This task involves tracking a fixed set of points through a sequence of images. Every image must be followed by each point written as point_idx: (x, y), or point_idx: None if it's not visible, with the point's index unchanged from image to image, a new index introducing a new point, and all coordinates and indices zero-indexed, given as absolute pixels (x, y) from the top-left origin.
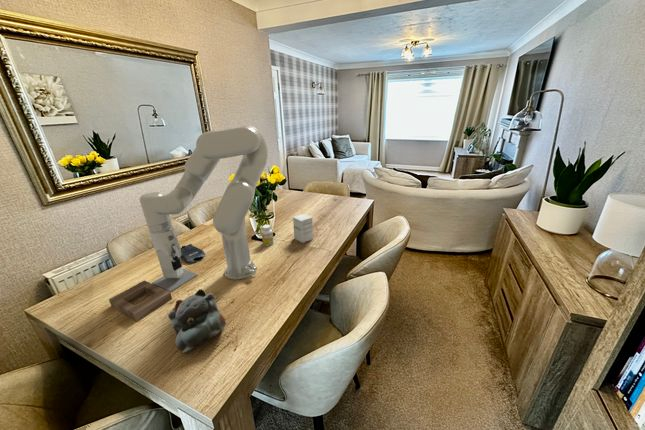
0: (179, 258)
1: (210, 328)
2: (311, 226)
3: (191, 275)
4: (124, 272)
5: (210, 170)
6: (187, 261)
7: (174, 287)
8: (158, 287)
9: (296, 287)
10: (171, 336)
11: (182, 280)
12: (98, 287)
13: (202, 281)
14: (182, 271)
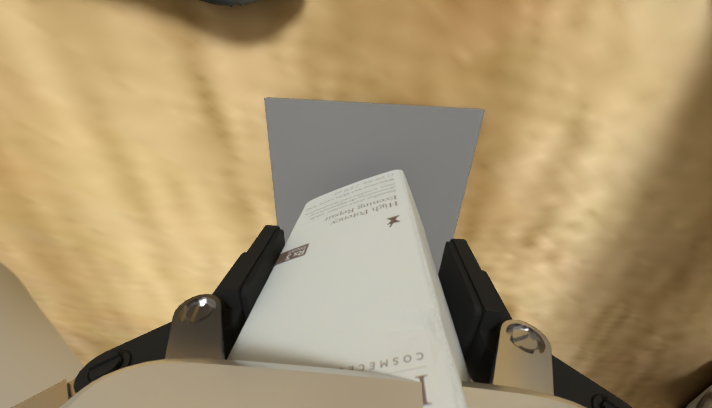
0: (558, 363)
1: None
2: None
3: (446, 139)
4: (54, 250)
5: None
6: (249, 2)
7: (437, 256)
8: None
9: None
10: (628, 398)
11: (430, 201)
12: (121, 337)
13: (564, 150)
14: (407, 184)
